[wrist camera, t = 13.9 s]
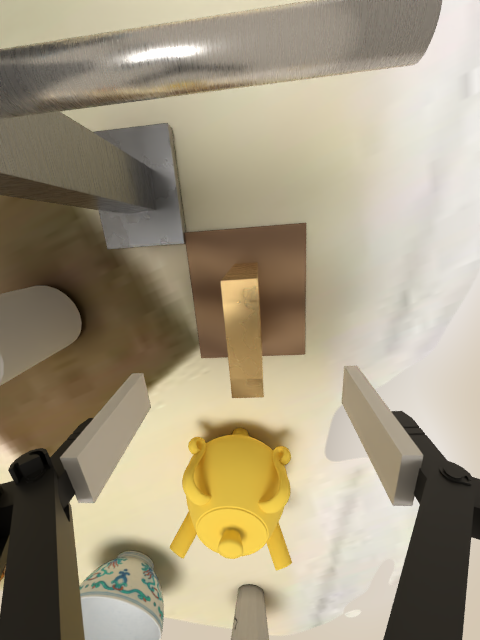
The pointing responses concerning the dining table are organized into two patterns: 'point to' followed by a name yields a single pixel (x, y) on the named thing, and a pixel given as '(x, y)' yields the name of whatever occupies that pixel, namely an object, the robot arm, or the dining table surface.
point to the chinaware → (123, 600)
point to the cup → (250, 615)
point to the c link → (243, 329)
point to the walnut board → (274, 284)
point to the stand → (173, 80)
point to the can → (34, 327)
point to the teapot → (235, 497)
